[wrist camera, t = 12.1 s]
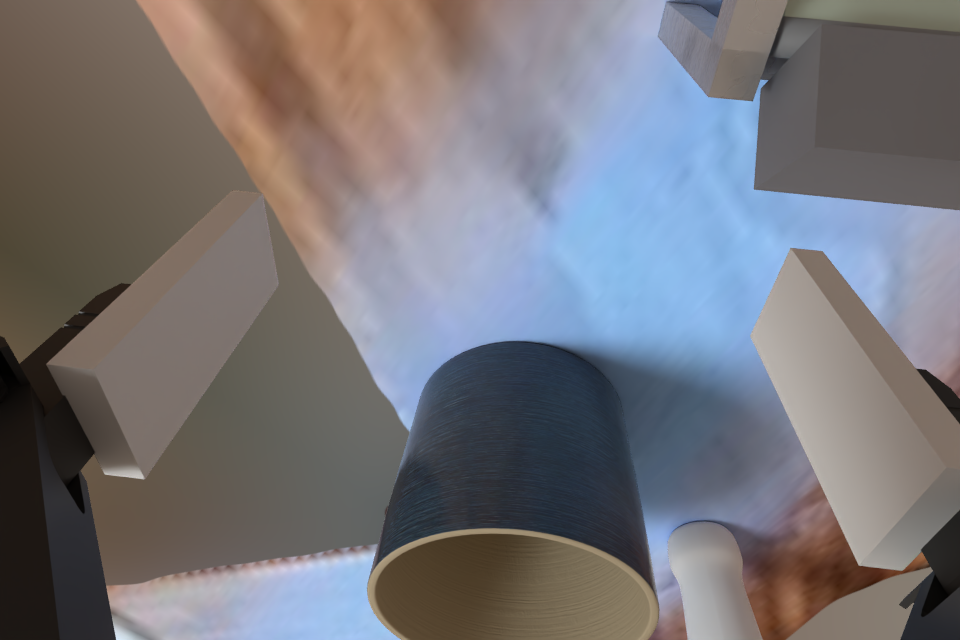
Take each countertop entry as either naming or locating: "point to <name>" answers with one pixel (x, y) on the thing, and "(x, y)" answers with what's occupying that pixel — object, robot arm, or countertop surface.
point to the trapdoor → (864, 103)
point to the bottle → (711, 583)
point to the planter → (515, 507)
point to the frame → (725, 44)
